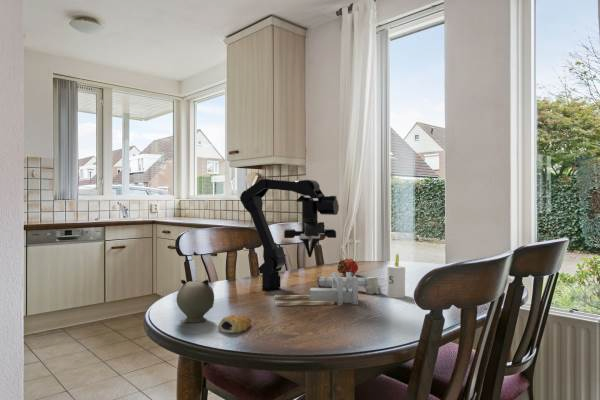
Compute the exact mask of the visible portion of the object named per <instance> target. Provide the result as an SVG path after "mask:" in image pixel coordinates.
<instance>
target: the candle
mask: <svg viewBox="0 0 600 400" xmlns="http://www.w3.org/2000/svg"><path fill="white" fill-rule="evenodd" d="M399 259H400V258H399V254H398V253H396V255H395V260H394V264H387V265H386V296H387V298H388V297H389V298H394V299H403V298H405V297H406V266H405V265H402V264H399V262H400V260H399Z"/></svg>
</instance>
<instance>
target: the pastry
mask: <svg viewBox="0 0 600 400" xmlns="http://www.w3.org/2000/svg"><path fill="white" fill-rule="evenodd" d="M251 323H252V319H251V318H250V317H249V316H246V315H243V314H242V315H241V314H231V315H228V316H225V317H223V318H222V319H221V321H220V322H219V324H218V325H217V329H218V331H219V332H222V333H227V334H240V333H242V332H243V331H246V330H248V329H249V327H251Z"/></svg>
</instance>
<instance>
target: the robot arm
mask: <svg viewBox="0 0 600 400" xmlns="http://www.w3.org/2000/svg"><path fill="white" fill-rule="evenodd" d="M320 187H321V186H320V183H319V182H318V181H317V180H314V179H313V180H311V179H302V180H300V179H299V180H294V181H290V180H281V179H270V178H265V177H263V178H260V179H259V180H258V181H257V182H256V183H255V184H253V185H251V186H250V187H249V188H247V189H246V190H243V191H242V193H241V194H240V196H239V199H240V202H241V204H242V206H243V207H244V209H245V210H246V211H247V212H248V213H249V214H250V216H251V219H252V221H253V224H254V226H255V230H256V232H257V234H258V237H259V240H260V242H261V245H262V248H263V251H262V252H263V253H262V254H263V255H262V257H263V263H262V264H261V265H260V266H259V267H258V272H259V274H261V276H262V277H261V278H262V280H261V290H262V291H279V290H280V288H281V275H280V272H281V271H282V268H283V267H284V265H286V261H287V260H286V257H287V255H286V254H285V251H284V248H283V246H278V245H277V244H276V242H275V240H274V237H273V235H272V232H271V230H270V227H269V224H268V221H267V219H266V217H265V213H264V211H263V204H264V203H263V197H265V196H266V195H267V193H268V191H269V190H276V191H287V192H288V191H289V192H294V193H296V194H297V195H298V194H299V195H300V196H299V197H298V198H297V199H296V202H298V203H300V202H301V230H296V229H295V228H292V229H291V228H285V229H284V230H283V238H284V239H294V238H295V237H298V239H299V240H300V241H302V243H303V245H304V248H305V251H306V254H307V257H308V258H311V257H312V255H313V251H314V249H315V247H316V245H317V242H318V241H321V237H326V238H328V239H329V238H330V239H332V238H333V239H334V238H337V231H336V230H335V229H333V228H325V222H324V221H323V222H322V221H321V222H319V221H318V216H319V214H320V215H324V216H325V215H326V216H328V215H329V216H331V215H332V216H336V215H338V213H339V208H340V207H339V206H340V205H339V201H338V199H337V195H330V196H325V194H324V193H323V191H322V190H321V189H320ZM307 196H308V197H307ZM314 199H317V200H314ZM318 213H319V214H318ZM308 237H310V239H309V238H308ZM309 240H310V241H309Z"/></svg>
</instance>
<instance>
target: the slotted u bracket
mask: <svg viewBox="0 0 600 400" xmlns="http://www.w3.org/2000/svg"><path fill="white" fill-rule="evenodd" d="M331 277H332V287H331V288H337V302H336V304H337V306H343V304H344V302H343V289H344V287H343V278H342V277H343V276H341V275H340V273H339V272H338V271H337V272H336V271H332V272H331ZM358 278H359V277H357V276H356V274H355V275H354V274H353V273H352V272H346V287H345V289H346V288H348V289H352V303H351V304H352V305H353V306H354V305H359V286H358Z"/></svg>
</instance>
